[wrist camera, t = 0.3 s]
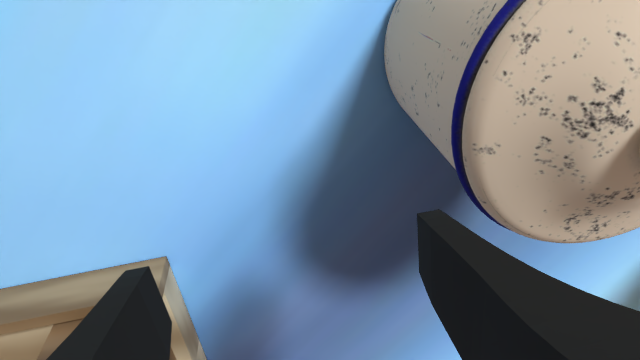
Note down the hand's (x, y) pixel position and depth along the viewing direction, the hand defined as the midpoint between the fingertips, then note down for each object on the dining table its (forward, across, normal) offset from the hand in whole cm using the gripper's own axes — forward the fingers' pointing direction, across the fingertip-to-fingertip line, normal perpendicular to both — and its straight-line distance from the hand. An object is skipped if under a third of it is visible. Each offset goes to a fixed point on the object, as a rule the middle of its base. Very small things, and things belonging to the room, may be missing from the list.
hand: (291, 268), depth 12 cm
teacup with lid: (+10, -11, -3) cm, 15 cm away
